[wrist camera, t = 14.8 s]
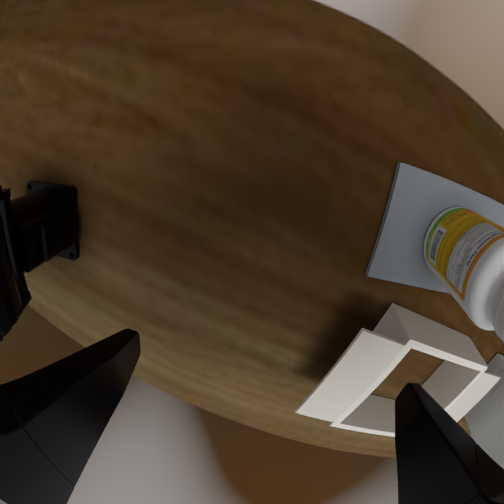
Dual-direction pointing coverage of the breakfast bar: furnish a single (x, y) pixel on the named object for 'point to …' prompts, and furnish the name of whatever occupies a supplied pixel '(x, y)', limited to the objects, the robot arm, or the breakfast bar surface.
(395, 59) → the breakfast bar surface
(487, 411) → the supplement box
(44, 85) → the breakfast bar surface
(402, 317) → the carton
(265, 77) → the breakfast bar surface
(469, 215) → the supplement bottle
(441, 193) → the mat
